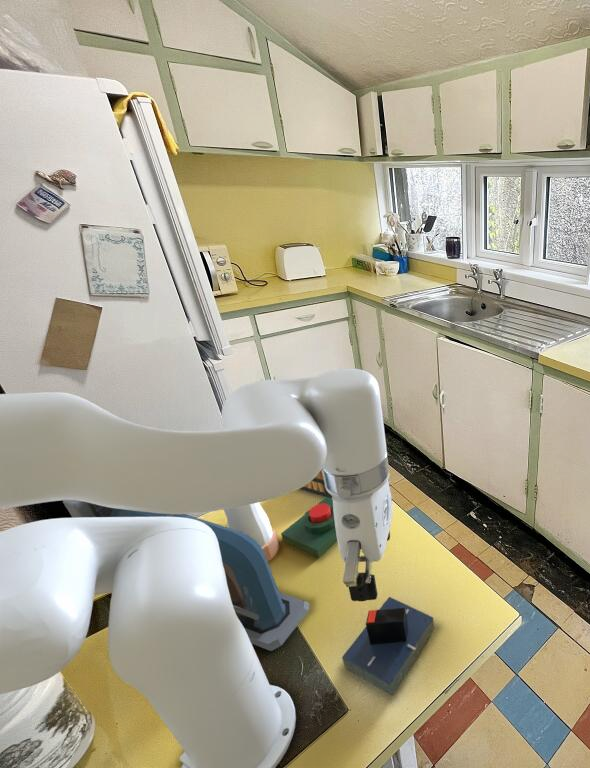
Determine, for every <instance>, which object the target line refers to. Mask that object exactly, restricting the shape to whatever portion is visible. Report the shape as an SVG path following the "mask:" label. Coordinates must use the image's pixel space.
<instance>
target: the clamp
mask: <svg viewBox="0 0 590 768" xmlns="http://www.w3.org/2000/svg"><path fill="white" fill-rule="evenodd" d="M62 504H63V505H64V507H65V508H66V509H67V511H68V512H69V515H70V516H71V518H78V517H183V518H190V519H194V520H198V521H200V522H203V523H205V524H206V525H208V526H209V527H210V528H211V529H212V530H213V532H214V533H215V535H216V537H217V540H218V544H219V548H220V552H221V558H222V563H223V567H224V570H225V575H226V581H227V586H228V590H229V594H230V598H231V601H232V605H233V608H234V610H235V613H236V615H237V617H238V619H239V621H240V622H241V623H242V625H243V627H244V629H245V631H246V633H247V635H248V637H249V639H250V642H251V644H252V645H254V646H256V647H260V648H261V649H265V650H267V651H269V652H272V651H275V650H276V649H278V648H280V647H281V646H282V647H283V645H284V643H285V642H286V641H287V639H288V638H289V637H290V636H291V634H292V633H293V632H294V631H295V629H296V628H297V627H298V626H299V624H300V622H302V620H303V619H304V618H305V617H306V616H307V614H308V613H309V612H310V604H311V603H309V602H308V601H306V600H304V599H300V598H298V597H294V596H292V595H288V594H285V593H283V592H281V591H280V590H279V589H278V587H277V584H276V581H275V578H274V576H273V572H272V569H271V567H270V564H269V561H267V559H266V556H265V554H264V552H263V550H262V548H261V546H260V545H259V544H258V543H257V542H256V541H255V540H254V539H253V538H251V537H250V536H249V535H247V534H245V533H243V532H240V531H237V530H234V529H231V528H228V526H224V525H222V524H218V523H214V522H211V521H208V520H205V519H201V518H198V517H195V516H193V515H190V514H163V513H152V512H142V511H133V510H124V509H117V508H110V507H105V506H100V505H96V504H92V503H88V502H84V501H78V500H62Z"/></svg>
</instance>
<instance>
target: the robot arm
mask: <svg viewBox="0 0 590 768" xmlns="http://www.w3.org/2000/svg"><path fill="white" fill-rule="evenodd" d="M380 392H381V391H380V387H379V382H378V381H377V378H375V376H374V375H373V374H372V373H370V372H369V371H366V370H363V369H359V368H339V369H332V370H329V371H326V372H323V373H321V374H318V375H316V376H307V377H296V378H295V377H294V378H293V377H292V378H279V379H278V378H277V379H276V378H275V379H265V380H258V381H253V382H249V383H247V384H244V385H241V386H240V387H238V388H236V389H235V390H233V391H232V392H231V393H230V394H229V395H228V396H227V397H226V399H225V400H224V402H223V405H222V407H221V408H222V409H221V421H222V427H223V429H217V430H216V429H215V430H199V431H196V430H195V431H194V430H193V431H192V430H172V429H164V428H157V427H151V426H146V425H142V424H138V423H135V422H132V421H130V420H129V421H128V420H127V419H124V418H121V417H120V416H117V415H115V414H114V413H111V412H110V411H108V410H106V409H104V408H102V407H100V406H99V405H97V404H96V403H94V402H92V401H90V400H88V399H86V398H83V397H82V396H78V395H76V394H73V393H70V392H61V391H42V392H40V391H39V392H25V393H24V392H23V393H22V392H21V393H19V392H18V393H0V510H3V509H9V508H17V507H22V506H30V505H35V504H42V503H43V504H44V503H49V502H50V503H51V502H58V501H59V502H60V501H64V500H78V501H84V502H88V503H92V504H96V505H100V506H105V507H110V508H117V509H124V510H133V511H142V512H152V513H163V514H186V515H194V514H205V513H211V512H219V511H222V510H223V511H224V509H228V508H233V507H238V506H243V505H248V504H253V503H258V502H259V503H263V502H266V501H270V500H274V499H277V498H280V497H283V496H286V495H289V494H291V493H294V492H296V491H298V490H300V488H302V487H303V486H305V485H306V484H308V483H309V482H310V481H312V480H313V479H314V478H315V477H316V476H317V475H318V473H319V472H320V471H321V469H322V474H323V479H324V483H325V488H326V490H327V491H328V493H330V494H331V495H333V497H332V499H333V511H334V521H335V529H336V536H337V542H336V543H337V547H338V551H339V554H340V557H341V560H342V561H343V562H344V570H343V577H342V582H343V584H344V585H345V586H346V588H348V592H349V596H350V600H351V601H352V602H367V601H375V600H377V599H378V588H377V582H376V577H375V574H373V573H372V572H373V563H375V562H379V561H380V560H381V559H382V558H383V557H384V555H385V551H386V546H387V542H388V541H390V539H391V532H390V531H391V530H390V529H391V524H392V520H393V514H394V505H393V499H392V492H391V488H390V487H391V486H390V481H389V479H390V465H389V459H388V450H387V442H386V433H385V425H384V416H383V408H382V400H381V393H380ZM361 552H362V555H361ZM364 562H365V567H364V568H365V570H364V571H363V572H359V565H360V563H364ZM105 594H106V595H107V594H111V598H110V603H109V615H108V626H107V647H108V648H107V649H108V651H107V652H108V657H109V661H110V664H111V667H112V670H113V671H114V673H115V674H116V676H117V677H118V678H119V679H120V680H121V681H123V682H125V683H126V684H127V685H129V686H131V687H133V688H134V689H135V690H137V691H138V692H139V693H140V694H141V695H142V696H143V697H144V698H145V699H146V701H147V702H148V703H149V704H150V706H151V707H152V709H153V710H154V711H155V712H156V714H157V715H158V717H159V718H160V719H161V720H162V722H163V723H164V725H165V726H166V727H167V729H168V730H169V732H170V733H171V734H172V736H173V737H174V739H175V740H176V742H177V743H178V745H179V746H180V747H181V749H182V750H183V752H182V754H181V755H180V756H179V760H180V762H181V763H182V766H181V767H180V768H276V767H277V766H278V765H279V763H281V761H282V759H283V757H284V756H285V754H286V753H287V750H288V749H289V746H290V744H291V741H292V739H293V736H294V733H295V729H296V721H297V713H296V707H295V704H294V701H293V699H292V698H291V696H290V694H289V693H288V692H287V691H286V690H285V689H283V688H281V687H279V686H276V685H272V684H270V683H269V682H270V681H269V680H268V678H267V675H266V673H265V671H264V669H263V666H262V664H261V662H260V660H259V657H258V655H257V653H256V651H255V649H254V646H253V644H252V643H251V642H250V639H249V637H248V635H247V633H246V631H245V629H244V627H243V625H242V623H241V622H240V621H239V619H238V617H237V615H236V613H235V610H234V608H233V605H232V601H231V598H230V594H229V590H228V586H227V581H226V575H225V570H224V567H223V563H222V558H221V552H220V548H219V544H218V540H217V537H216V535H215V533H214V532H213V530H212V529H211V528H210V527H209V526H208V525H206V524H205V523H203V522H200V521H198V520H194V519H190V518H183V517H78V518H73V517H58V518H57V517H56V518H48V519H41V520H36V521H31V522H27V523H22V524H20V525H17V526H13V527H10V528H7V529H5V530H2V531H0V695H3V694H8V693H12V692H15V691H19V690H22V689H26V688H29V687H33V686H36V685H38V684H40V683H43V682H45V681H47V680H49V679H51V678H52V677H54V676H56V675H58V673H60V672H62V671H63V670H64V669H65V668H67V667H68V666H69V665H70V663H72V661H73V660H74V659H75V658H76V657H77V655H78V654H79V653H80V650H81V648H82V647H83V645H84V643H85V640H86V638H87V635H88V632H89V628H90V623H91V618H92V611H93V606H94V600H95V599H94V597H95V596H99V595H100V596H101V595H105Z"/></svg>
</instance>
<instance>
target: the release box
mask: <svg viewBox="0 0 590 768" xmlns="http://www.w3.org/2000/svg"><path fill="white" fill-rule="evenodd" d="M318 504H328V505H329V506H330V510H331V516H330V518H329V519H328V520H326V521H324V522H322V523H313V522H312V521H311V519H310V516H309V511H310V509H311V508H309V509H308V510H307V511H306V512H304V514H303V515H302V516H301V517H300V518H298V519H297V520H296V521H294V522H293V523H292V524H290V526H289V527H287V528H286V529H285V530H283V531H282V532H281V533H280V535H281V539H282V541H283V543H286V544H288V545H290V546H293V547H295V548H297V549H299V550H301V551H303V552H306V553H308V554H310V555H312V556H314V557H316V558H318V559H320V558H321V557H322V556H323V555H325V554H326V553H327V552H328V551H329V550H330V549H331V548H332V547H333V546H334V545H336V543H338V542H337V536H336V529H335V521H334V511H333V498H328V497H324V498H323V499H322V500H320V501H319V502H318V503H317V504H316V505H318Z"/></svg>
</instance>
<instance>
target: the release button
mask: <svg viewBox="0 0 590 768" xmlns="http://www.w3.org/2000/svg"><path fill="white" fill-rule="evenodd" d="M317 504H318V503H317ZM317 504H315V505H314V506H312V507H310V508H309V509H310V511H309V516H310V519H311V521H312V522H313V523H322V522H324V521H326V520H328V519H329V518H330V516H331V510H330V506H329V505H328V504H318V505H317Z"/></svg>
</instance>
